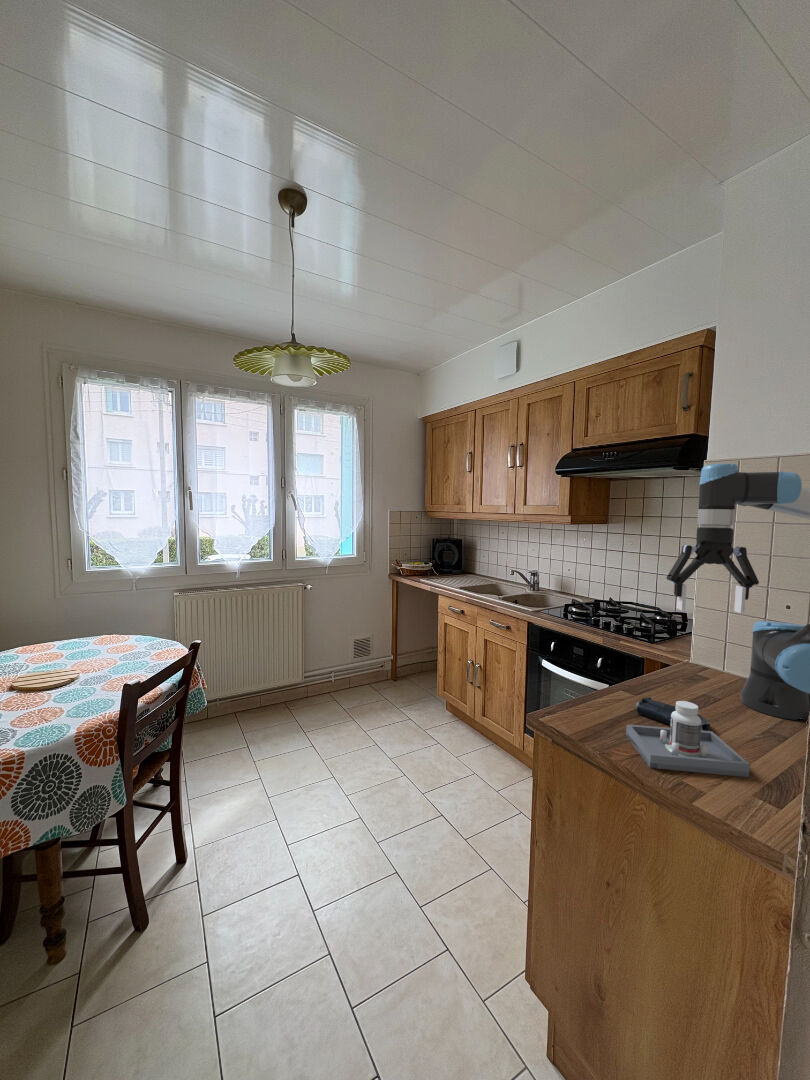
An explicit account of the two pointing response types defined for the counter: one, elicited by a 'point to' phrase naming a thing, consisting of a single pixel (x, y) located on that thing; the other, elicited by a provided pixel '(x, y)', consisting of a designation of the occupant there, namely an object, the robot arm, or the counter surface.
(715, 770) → the tray
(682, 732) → the pill bottle
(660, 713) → the electronic device
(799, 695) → the robot arm
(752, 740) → the counter surface
